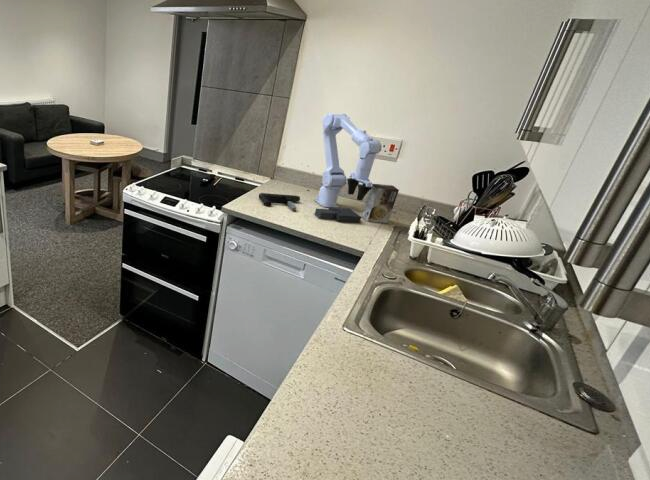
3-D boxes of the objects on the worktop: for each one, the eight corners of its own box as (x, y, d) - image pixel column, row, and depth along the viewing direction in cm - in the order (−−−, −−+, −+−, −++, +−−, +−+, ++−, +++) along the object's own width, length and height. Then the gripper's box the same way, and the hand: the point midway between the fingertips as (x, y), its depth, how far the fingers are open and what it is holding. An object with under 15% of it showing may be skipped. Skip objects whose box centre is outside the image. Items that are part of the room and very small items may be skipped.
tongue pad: (314, 214, 179) (316, 208, 178) (333, 215, 180) (335, 209, 179) (319, 218, 175) (321, 212, 173) (339, 219, 175) (341, 213, 174)
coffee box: (381, 218, 182) (392, 185, 175) (387, 223, 176) (400, 189, 169) (361, 216, 182) (372, 183, 176) (367, 221, 176) (378, 187, 170)
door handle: (309, 207, 180) (297, 194, 195) (266, 204, 180) (258, 191, 194) (307, 213, 182) (296, 200, 196) (264, 210, 181) (256, 197, 196)
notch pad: (327, 213, 182) (328, 207, 181) (347, 214, 183) (349, 208, 182) (337, 221, 173) (339, 215, 172) (359, 223, 174) (361, 216, 172)
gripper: (346, 163, 178) (338, 191, 183) (364, 172, 165) (354, 202, 170) (361, 164, 178) (353, 192, 184) (380, 173, 165) (370, 203, 171)
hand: (354, 197), depth 177 cm, fingers open, 7 cm apart
